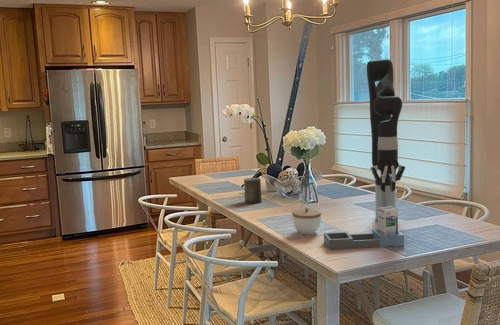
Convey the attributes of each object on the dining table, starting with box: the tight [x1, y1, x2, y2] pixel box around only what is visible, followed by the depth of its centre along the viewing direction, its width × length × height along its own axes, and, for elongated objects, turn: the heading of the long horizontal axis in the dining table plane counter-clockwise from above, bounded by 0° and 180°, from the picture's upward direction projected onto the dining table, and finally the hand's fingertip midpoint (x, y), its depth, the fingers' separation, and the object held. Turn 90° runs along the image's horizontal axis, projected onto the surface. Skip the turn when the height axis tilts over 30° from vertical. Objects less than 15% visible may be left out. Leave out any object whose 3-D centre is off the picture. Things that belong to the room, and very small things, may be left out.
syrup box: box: [377, 206, 399, 235], centre depth 189 cm, size 6×6×14 cm
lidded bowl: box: [291, 207, 322, 236], centre depth 209 cm, size 13×13×11 cm
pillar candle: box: [243, 177, 262, 204], centre depth 275 cm, size 10×10×15 cm
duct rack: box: [323, 228, 405, 251], centre depth 189 cm, size 12×30×5 cm, turn 93°
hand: (387, 191), depth 187 cm, fingers open, 3 cm apart
